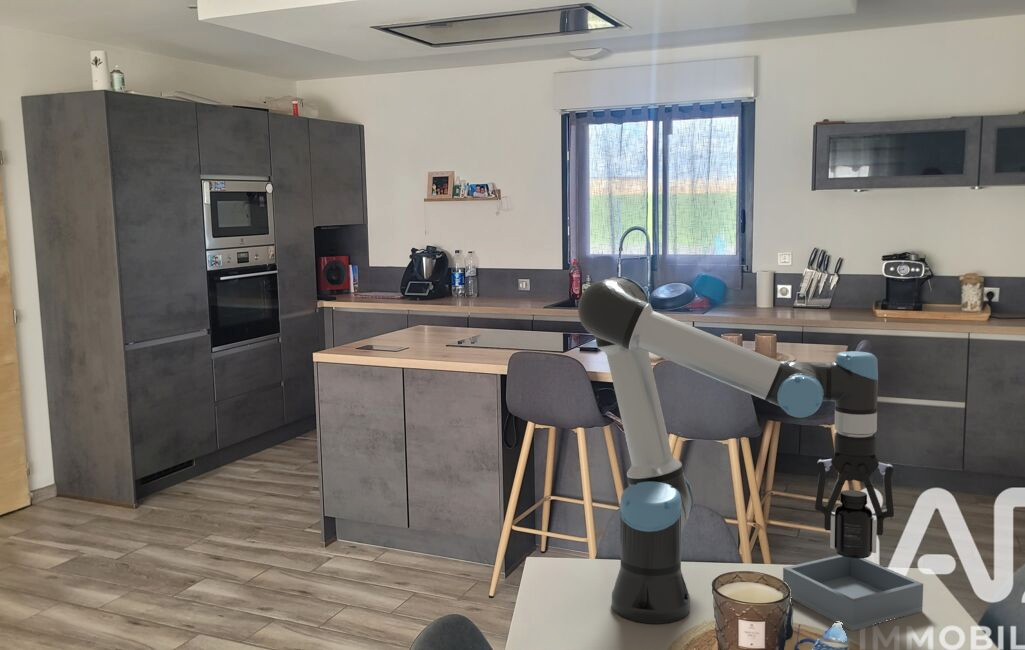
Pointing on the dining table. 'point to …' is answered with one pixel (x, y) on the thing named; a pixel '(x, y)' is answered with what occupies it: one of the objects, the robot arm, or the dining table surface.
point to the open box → (853, 590)
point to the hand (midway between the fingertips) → (852, 548)
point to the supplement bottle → (853, 525)
